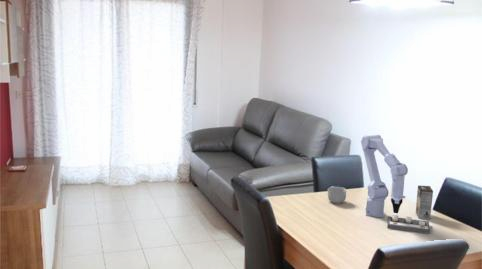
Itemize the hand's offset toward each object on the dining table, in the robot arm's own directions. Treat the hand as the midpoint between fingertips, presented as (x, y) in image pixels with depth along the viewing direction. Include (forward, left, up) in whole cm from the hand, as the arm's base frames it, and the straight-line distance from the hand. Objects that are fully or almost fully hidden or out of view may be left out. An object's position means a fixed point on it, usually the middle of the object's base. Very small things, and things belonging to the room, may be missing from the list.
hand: (395, 212), depth 224 cm
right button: (+13, 0, -6) cm, 14 cm away
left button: (0, 0, -4) cm, 4 cm away
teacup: (-34, +25, -7) cm, 42 cm away
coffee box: (+14, +18, -7) cm, 24 cm away
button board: (+6, -1, -6) cm, 9 cm away
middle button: (+6, 0, -4) cm, 8 cm away
